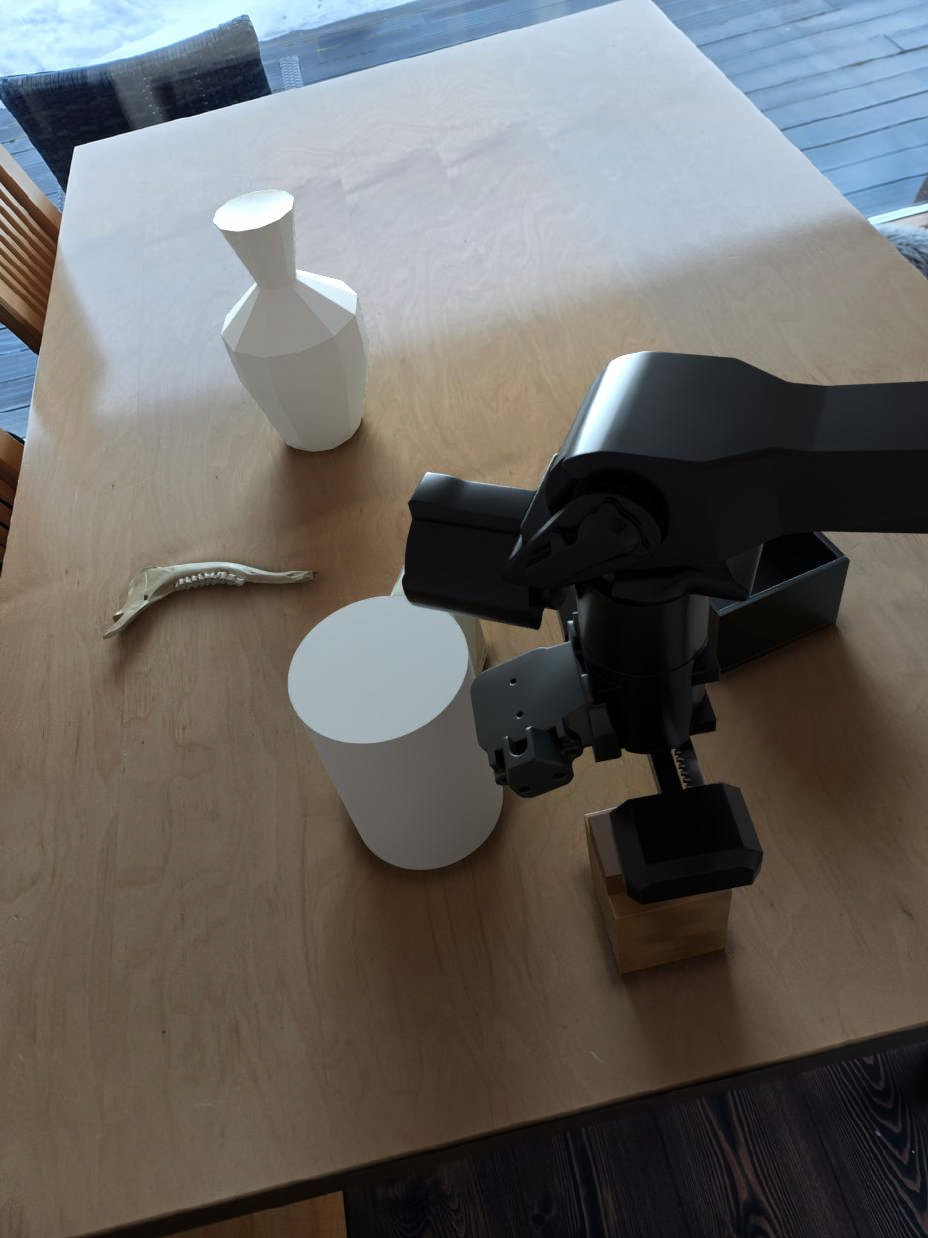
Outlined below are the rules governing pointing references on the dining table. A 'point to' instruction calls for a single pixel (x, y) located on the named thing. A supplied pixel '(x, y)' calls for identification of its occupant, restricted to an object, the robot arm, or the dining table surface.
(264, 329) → the vase
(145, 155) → the dining table surface
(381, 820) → the white solid cylinder
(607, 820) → the brown block
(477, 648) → the box
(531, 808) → the dining table surface
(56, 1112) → the dining table surface
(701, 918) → the stand
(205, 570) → the jawbone
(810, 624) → the trash bin
